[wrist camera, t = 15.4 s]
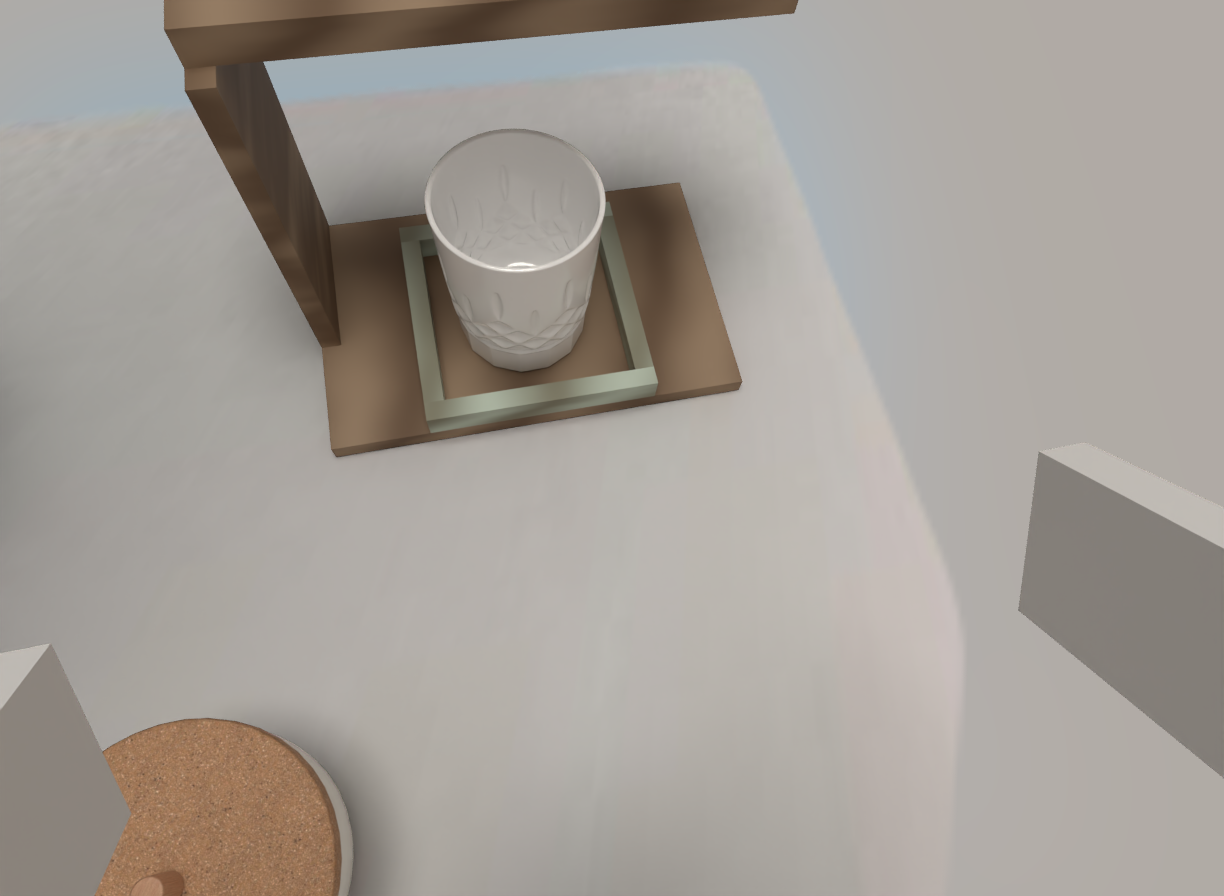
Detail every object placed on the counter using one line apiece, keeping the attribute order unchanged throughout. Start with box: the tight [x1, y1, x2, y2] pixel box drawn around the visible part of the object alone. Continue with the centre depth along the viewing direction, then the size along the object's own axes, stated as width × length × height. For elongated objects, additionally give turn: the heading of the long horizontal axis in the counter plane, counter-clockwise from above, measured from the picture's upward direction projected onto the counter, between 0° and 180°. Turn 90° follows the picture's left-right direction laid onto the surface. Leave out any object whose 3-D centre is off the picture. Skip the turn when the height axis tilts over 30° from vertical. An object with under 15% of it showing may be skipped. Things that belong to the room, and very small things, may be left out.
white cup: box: [425, 129, 606, 372], centre depth 38 cm, size 8×8×10 cm
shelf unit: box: [164, 0, 798, 457], centre depth 35 cm, size 22×14×20 cm, turn 102°
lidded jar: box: [94, 718, 354, 896], centre depth 29 cm, size 11×11×9 cm
